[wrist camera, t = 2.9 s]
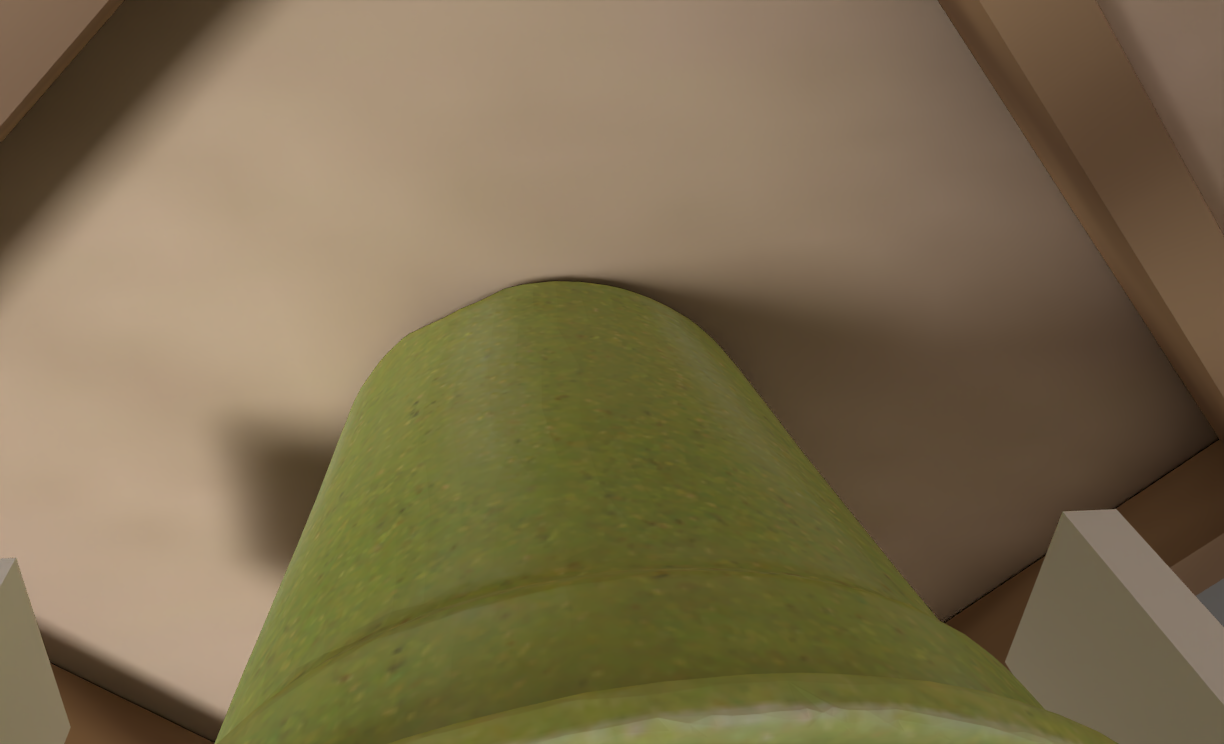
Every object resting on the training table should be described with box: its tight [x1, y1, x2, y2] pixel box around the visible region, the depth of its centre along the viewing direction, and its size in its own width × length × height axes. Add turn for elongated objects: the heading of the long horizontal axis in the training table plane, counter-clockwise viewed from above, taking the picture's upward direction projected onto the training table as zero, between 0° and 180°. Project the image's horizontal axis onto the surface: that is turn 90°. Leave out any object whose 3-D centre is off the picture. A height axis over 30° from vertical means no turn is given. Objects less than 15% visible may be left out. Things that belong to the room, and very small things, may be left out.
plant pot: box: [215, 281, 1118, 744], centre depth 11 cm, size 9×9×9 cm
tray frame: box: [0, 0, 1224, 744], centre depth 14 cm, size 18×18×2 cm
